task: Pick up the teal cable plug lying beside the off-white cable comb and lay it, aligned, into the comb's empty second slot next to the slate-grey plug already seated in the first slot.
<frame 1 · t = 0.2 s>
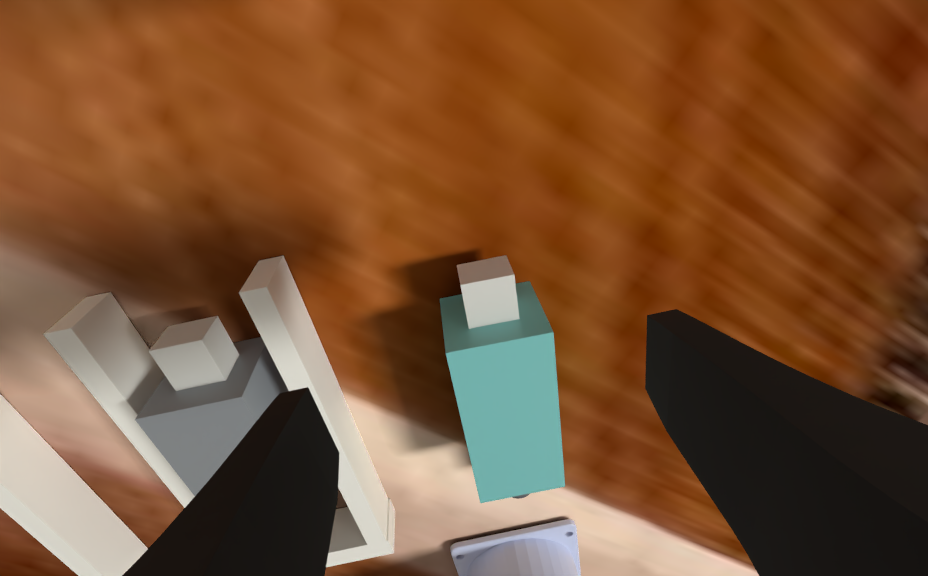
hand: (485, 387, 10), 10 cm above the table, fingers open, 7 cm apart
grey plug: (266, 414, 23), resting in cable comb
cable comb: (204, 446, 23), on the table
teal plug: (496, 365, 23), on the table
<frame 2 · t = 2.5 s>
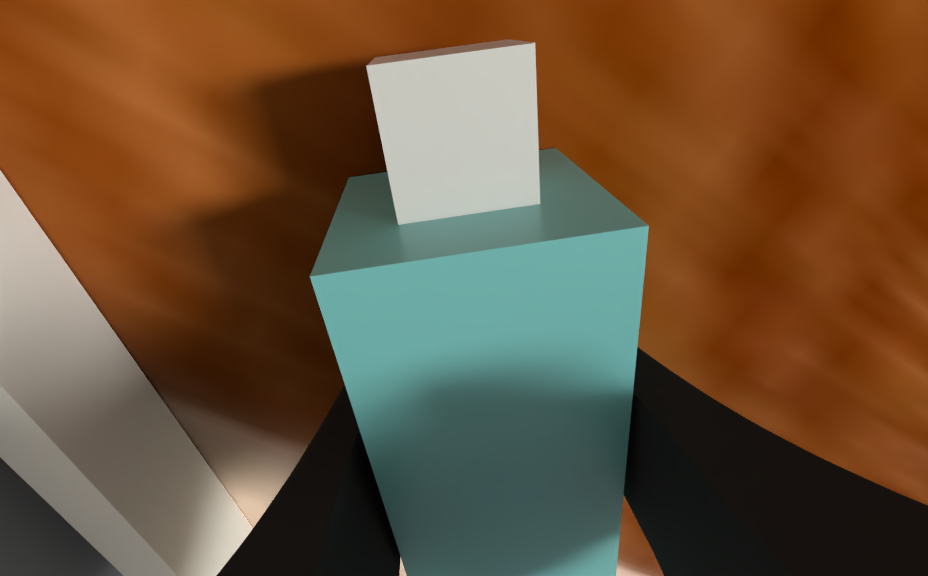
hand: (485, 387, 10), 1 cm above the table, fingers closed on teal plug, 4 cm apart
grey plug: (18, 442, 11), resting in cable comb
teal plug: (476, 348, 11), on the table, touching gripper
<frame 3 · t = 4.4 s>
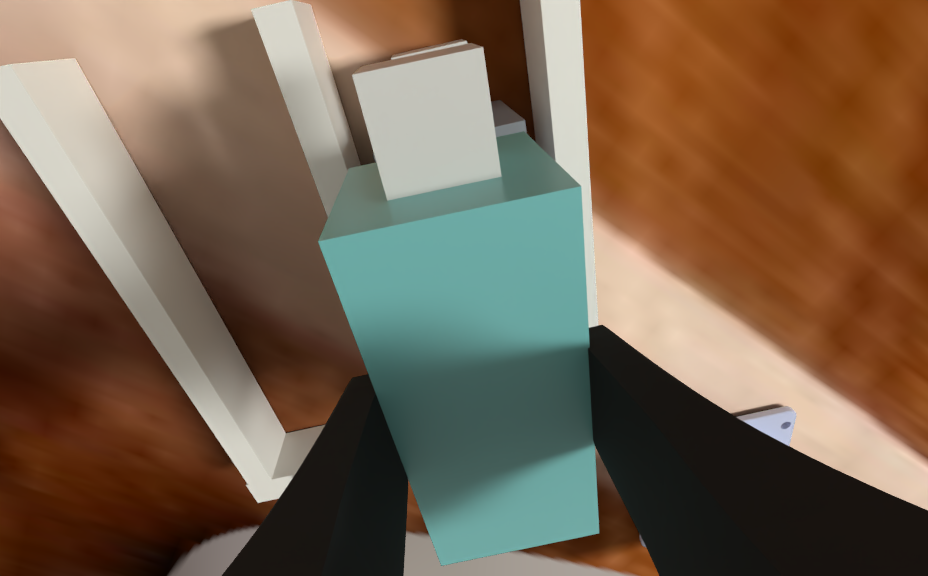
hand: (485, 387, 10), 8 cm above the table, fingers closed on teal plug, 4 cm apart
grey plug: (465, 235, 17), resting in cable comb
cable comb: (381, 276, 18), on the table
teal plug: (470, 313, 13), point 5 cm above the table, touching gripper
when the fingers open (3 cm above the table, at t = 6.6 s): teal plug stays where it is, resting in cable comb.
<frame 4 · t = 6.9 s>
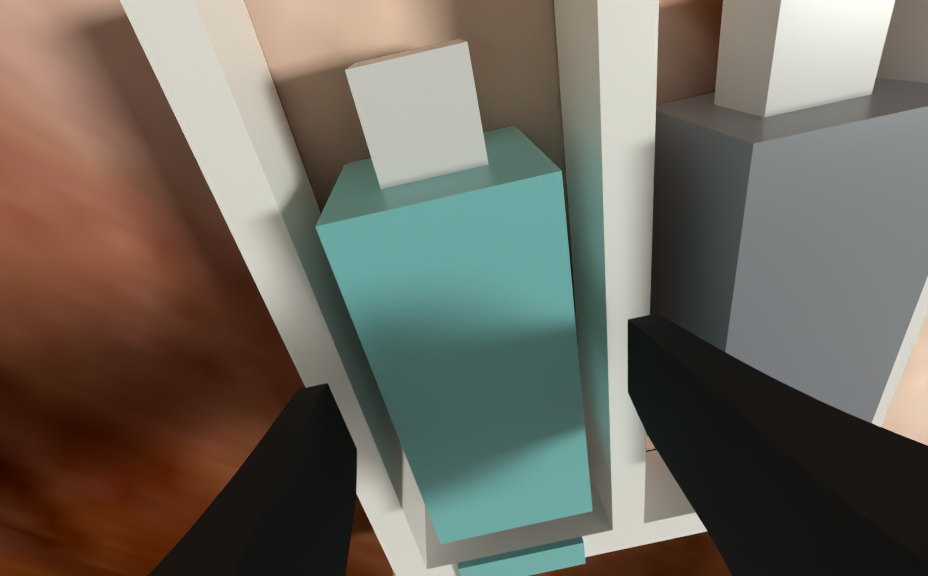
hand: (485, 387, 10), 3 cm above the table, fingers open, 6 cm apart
grey plug: (709, 256, 13), resting in cable comb
cable comb: (592, 307, 13), on the table
teal plug: (466, 301, 13), resting in cable comb
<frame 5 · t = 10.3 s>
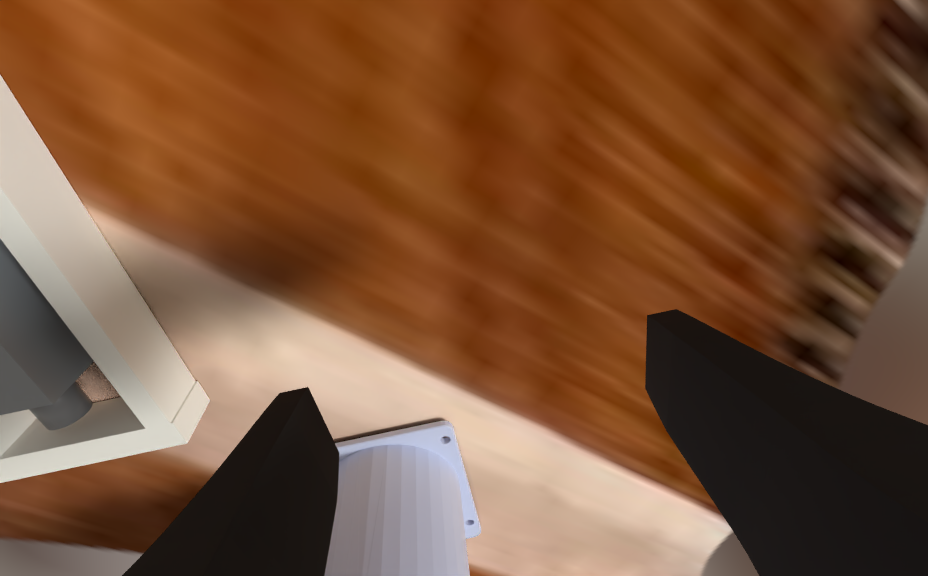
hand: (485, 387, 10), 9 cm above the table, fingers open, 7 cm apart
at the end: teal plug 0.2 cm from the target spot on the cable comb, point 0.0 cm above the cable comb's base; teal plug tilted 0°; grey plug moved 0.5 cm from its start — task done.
